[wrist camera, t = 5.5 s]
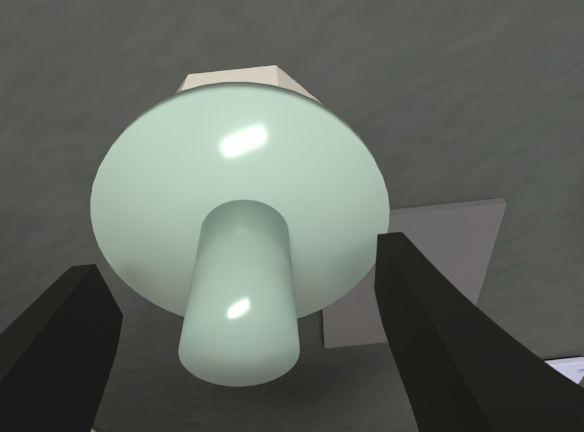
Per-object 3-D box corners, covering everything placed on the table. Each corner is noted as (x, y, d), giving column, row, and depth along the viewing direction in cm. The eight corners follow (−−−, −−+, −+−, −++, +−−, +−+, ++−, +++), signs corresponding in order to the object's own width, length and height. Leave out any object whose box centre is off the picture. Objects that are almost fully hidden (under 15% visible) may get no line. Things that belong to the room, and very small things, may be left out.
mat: (464, 327, 23) (467, 333, 22) (323, 342, 23) (324, 348, 22) (502, 198, 17) (507, 203, 17) (316, 217, 17) (317, 223, 17)
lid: (387, 287, 15) (431, 417, 11) (164, 325, 15) (132, 461, 11) (376, 49, 10) (453, 139, 6) (38, 118, 10) (-97, 243, 6)
